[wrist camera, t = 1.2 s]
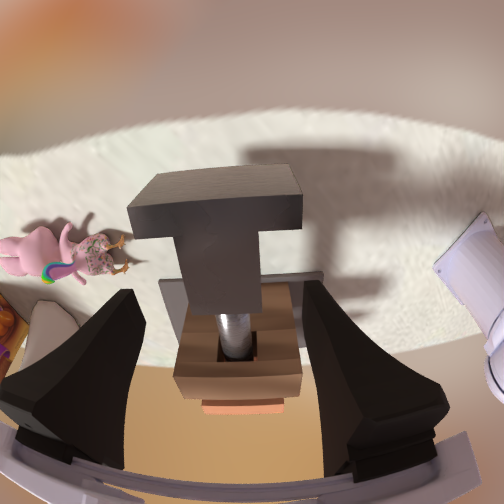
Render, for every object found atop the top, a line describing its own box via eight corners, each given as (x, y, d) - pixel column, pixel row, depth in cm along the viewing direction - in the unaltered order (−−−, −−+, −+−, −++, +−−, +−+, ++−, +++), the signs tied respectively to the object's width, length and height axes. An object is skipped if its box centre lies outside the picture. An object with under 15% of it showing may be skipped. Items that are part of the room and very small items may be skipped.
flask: (60, 344, 30) (32, 404, 22) (25, 304, 27) (-12, 363, 18) (93, 337, 29) (64, 407, 21) (55, 292, 25) (13, 362, 17)
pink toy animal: (127, 208, 22) (-5, 216, 19) (109, 246, 17) (-36, 249, 14) (135, 269, 25) (12, 268, 22) (124, 315, 20) (-12, 306, 18)
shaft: (284, 370, 24) (288, 414, 20) (206, 373, 24) (202, 415, 20) (288, 163, 14) (302, 194, 11) (157, 174, 15) (126, 207, 11)
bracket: (287, 307, 25) (299, 396, 18) (198, 311, 26) (184, 398, 18) (287, 281, 24) (302, 373, 16) (192, 286, 24) (172, 376, 16)
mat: (313, 343, 29) (314, 346, 29) (182, 348, 29) (181, 351, 29) (322, 271, 24) (323, 274, 23) (159, 279, 24) (158, 282, 24)
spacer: (278, 353, 24) (283, 412, 19) (211, 355, 25) (205, 414, 19) (278, 342, 24) (284, 404, 19) (208, 345, 24) (201, 405, 19)
